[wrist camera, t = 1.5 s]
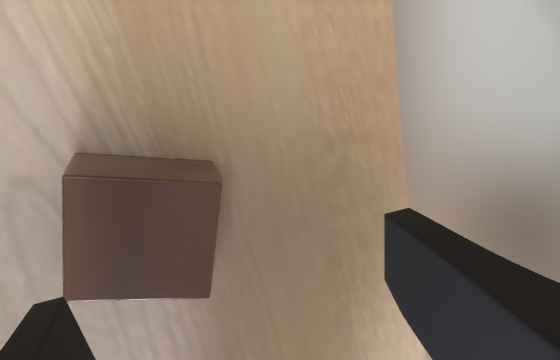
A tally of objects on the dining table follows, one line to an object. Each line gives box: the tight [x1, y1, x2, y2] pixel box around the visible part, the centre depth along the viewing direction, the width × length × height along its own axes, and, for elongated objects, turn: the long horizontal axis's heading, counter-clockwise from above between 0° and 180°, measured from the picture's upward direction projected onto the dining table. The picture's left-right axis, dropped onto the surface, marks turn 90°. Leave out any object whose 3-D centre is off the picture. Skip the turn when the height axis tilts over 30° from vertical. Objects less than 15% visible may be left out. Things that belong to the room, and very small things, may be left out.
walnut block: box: [62, 153, 222, 302], centre depth 20 cm, size 6×6×3 cm
